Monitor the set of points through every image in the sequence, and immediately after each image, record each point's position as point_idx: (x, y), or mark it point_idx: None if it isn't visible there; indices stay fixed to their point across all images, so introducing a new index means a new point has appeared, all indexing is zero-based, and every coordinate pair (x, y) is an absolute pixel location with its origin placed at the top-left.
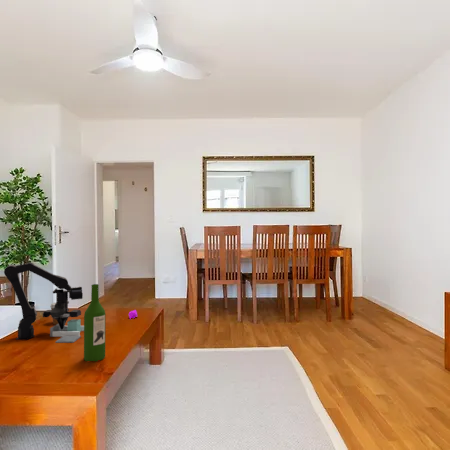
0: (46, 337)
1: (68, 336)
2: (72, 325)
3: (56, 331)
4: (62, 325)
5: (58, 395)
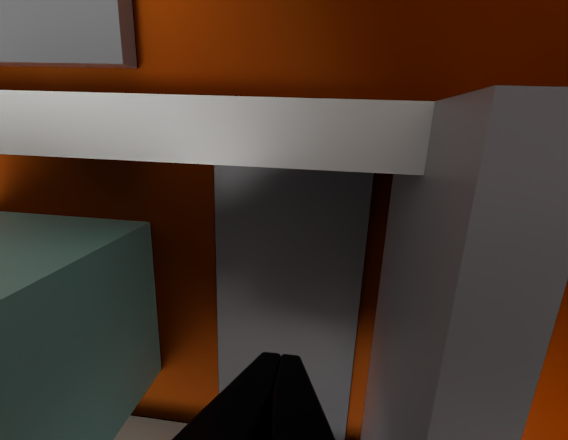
0: (523, 41)
1: (4, 14)
2: None
3: (317, 133)
4: (217, 415)
5: None
